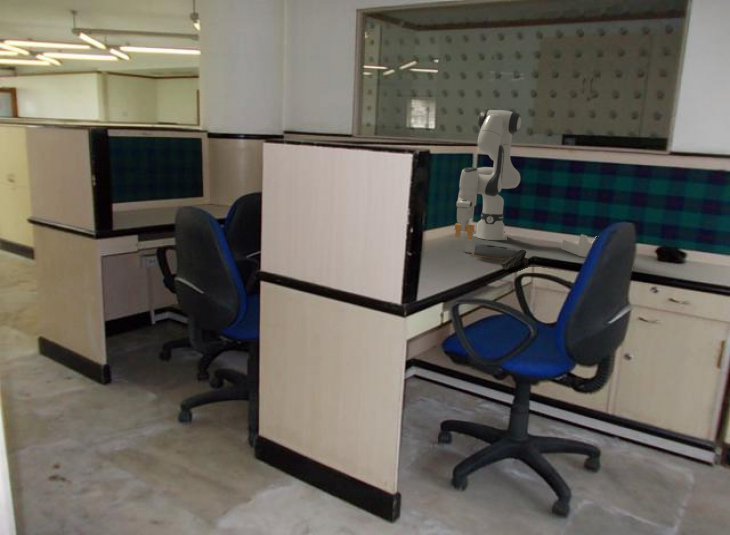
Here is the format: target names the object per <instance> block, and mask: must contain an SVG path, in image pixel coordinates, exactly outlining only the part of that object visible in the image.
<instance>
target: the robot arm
mask: <svg viewBox="0 0 730 535" xmlns="http://www.w3.org/2000/svg"><path fill="white" fill-rule="evenodd" d="M477 123H478V124H477V125H478V127H479V129H480V130H479V133H478V138H477V146H478V148H479V150H481V151H482V152H483V153H484V154H486V155H488V157H489V158H490V159H491V161H493V165H492V166H493V167H491V166H490V167H488V166H482V167H473V166H472V167H471V166H469V167H464V168H463V169H462V170H461V174H460V177H459V178H460V179H459V191H458V197H457V201H456V208H457V209H456V223H459V224H461V230H465V229H466V227H465V226H466V224H467V225H469V223H470V220H471V219H473V218H474V212H475V207H476V206H477V198H478V197H477V196H478V195H481V196H482V212H481V214H480V220H478V222H477V225H476V233H474V234H472V237H474V238H478V239H483V240H488V241H508V237H507V234H506V231H505V223H504V222H503V220H504V202H505V201H504V197H502V196H501V195H499V194H500V193H501V191H502V189H506V190H507V189H509V190H510V189H515V188H517V187H518V186H519V184H520V182H521V174H520V172H519V171H518V169H516V168H515V167H514V165H513V163H512V160H511V149H512V140H513V135H514V134H515V133H517V132H518V131H519V129H520V128H521V125H522V116H521V115H520V113H518V112H516V111H510V110H504V109H483V110H481V111H480V113H479V115H478V117H477Z"/></svg>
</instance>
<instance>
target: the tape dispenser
mask: <svg viewBox="0 0 730 535" xmlns="http://www.w3.org/2000/svg"><path fill="white" fill-rule="evenodd" d="M596 237H597V236H595V237H594V239H593V240H592V241H588V235H586V234H582V233H581V234H580V236H579V241H575V240H568V239H562V243H561V248H560V249H561V250H563V251H566V252H569V253H571V254H574V255H576V256H578V257H584V258H587V257H586V254H587V253H588V251H589V249H590V247H591V245H592V243H593V241H594V240H595V238H596Z"/></svg>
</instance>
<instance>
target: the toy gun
mask: <svg viewBox="0 0 730 535" xmlns="http://www.w3.org/2000/svg"><path fill="white" fill-rule="evenodd" d="M526 255H527V251H526V249H523V248H522V249H519V251H518V252H517V253H515V254H514V255H512V256H511V257H509V258H508V259H507V260H503V261H502V262H501V266H502V270H504V271H508V270H510V269H511V268H512V267H519V266H520V265H521V267H524V268H527V266H528V264H529V259H528V258H527V257H526Z"/></svg>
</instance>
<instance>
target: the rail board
mask: <svg viewBox="0 0 730 535" xmlns="http://www.w3.org/2000/svg"><path fill="white" fill-rule="evenodd" d="M519 250H520V248H518V247H517V248H516V247H509V246H499V245H493V244H482V243H477V244H474V251H473V252H472V253H471V254H470V257H471V256H472V257H477V258H478V257H479V258H484V259H491V260H492V259H494V260H498V261H499V260H501V261H505V260H507V259H508V258H509V257H511V256H512V255H514V254H515V253H517V252H518V251H519Z"/></svg>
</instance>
